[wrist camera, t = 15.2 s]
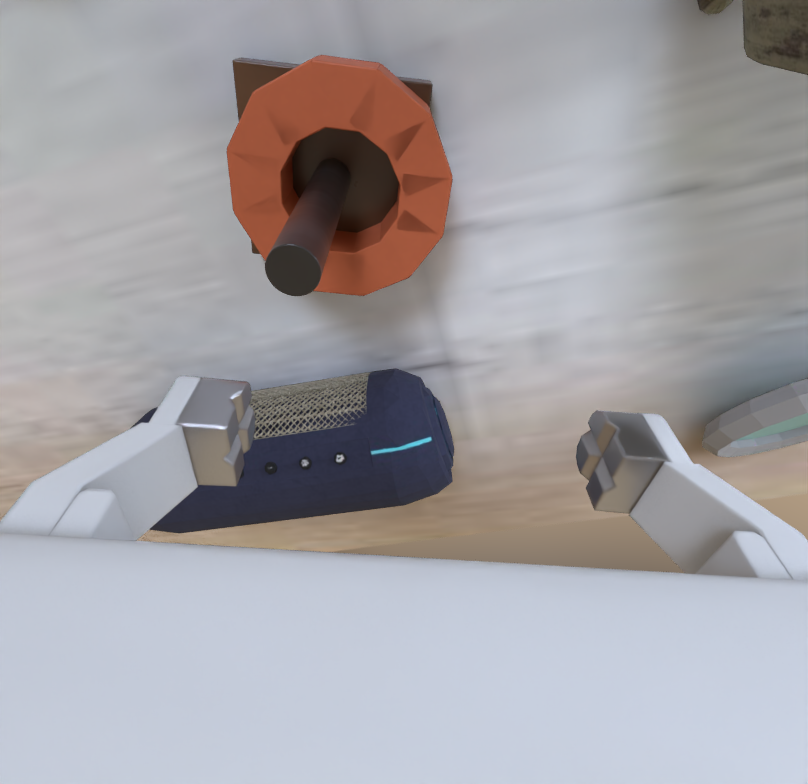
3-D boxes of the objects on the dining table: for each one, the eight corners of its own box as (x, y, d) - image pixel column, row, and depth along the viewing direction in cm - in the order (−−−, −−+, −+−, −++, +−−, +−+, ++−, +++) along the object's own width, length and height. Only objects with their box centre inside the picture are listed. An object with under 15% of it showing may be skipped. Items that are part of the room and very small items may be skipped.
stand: (240, 57, 24) (108, 91, 13) (431, 80, 25) (453, 131, 14) (257, 244, 31) (177, 371, 20) (410, 259, 31) (414, 390, 20)
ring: (235, 42, 23) (214, 46, 20) (462, 74, 24) (469, 81, 21) (254, 261, 30) (240, 283, 27) (429, 280, 31) (431, 303, 28)
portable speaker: (436, 334, 35) (446, 425, 27) (453, 430, 41) (465, 527, 33) (128, 385, 38) (57, 481, 30) (187, 468, 44) (140, 565, 36)
